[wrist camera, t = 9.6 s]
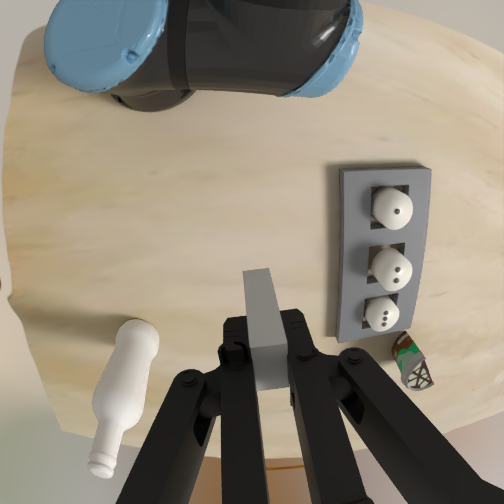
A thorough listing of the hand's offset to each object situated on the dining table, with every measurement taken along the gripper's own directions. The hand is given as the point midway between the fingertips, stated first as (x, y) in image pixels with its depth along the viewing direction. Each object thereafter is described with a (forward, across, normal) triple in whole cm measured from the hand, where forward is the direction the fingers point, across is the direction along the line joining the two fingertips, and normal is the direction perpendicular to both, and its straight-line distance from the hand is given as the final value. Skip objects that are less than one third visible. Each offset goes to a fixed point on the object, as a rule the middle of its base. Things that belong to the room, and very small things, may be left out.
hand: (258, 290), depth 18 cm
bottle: (+30, -22, -25) cm, 45 cm away
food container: (+30, +31, -39) cm, 58 cm away
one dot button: (+29, +23, -5) cm, 37 cm away
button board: (+29, +23, -15) cm, 40 cm away
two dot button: (+27, +23, -15) cm, 39 cm away
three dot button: (+29, +23, -25) cm, 45 cm away
